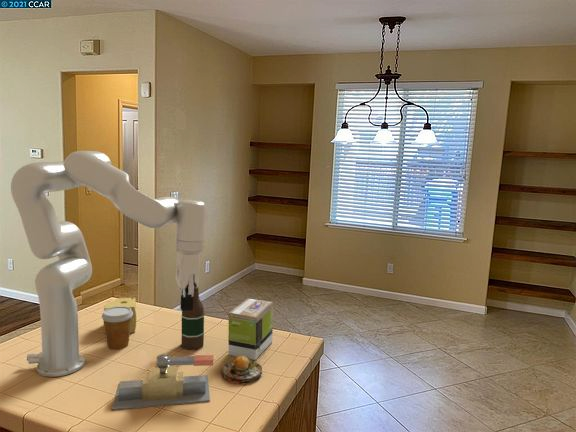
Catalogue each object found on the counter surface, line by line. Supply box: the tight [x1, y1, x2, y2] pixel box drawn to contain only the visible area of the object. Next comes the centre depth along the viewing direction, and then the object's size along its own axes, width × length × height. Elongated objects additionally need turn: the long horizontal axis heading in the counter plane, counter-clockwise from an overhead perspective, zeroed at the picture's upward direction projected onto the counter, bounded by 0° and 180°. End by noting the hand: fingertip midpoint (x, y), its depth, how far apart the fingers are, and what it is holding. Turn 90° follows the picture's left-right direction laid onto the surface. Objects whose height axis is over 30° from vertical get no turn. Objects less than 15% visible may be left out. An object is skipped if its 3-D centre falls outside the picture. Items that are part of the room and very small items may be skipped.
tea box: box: [227, 297, 274, 361], centre depth 143 cm, size 15×10×15 cm, turn 161°
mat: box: [111, 374, 211, 411], centre depth 116 cm, size 24×13×1 cm, turn 103°
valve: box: [117, 365, 206, 401], centre depth 114 cm, size 22×6×8 cm, turn 103°
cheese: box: [102, 297, 137, 336], centre depth 155 cm, size 10×11×10 cm
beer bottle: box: [181, 287, 205, 351], centre depth 143 cm, size 8×8×24 cm
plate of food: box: [221, 355, 263, 385], centre depth 127 cm, size 12×12×8 cm
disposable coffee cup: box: [101, 306, 133, 351], centre depth 141 cm, size 10×10×12 cm
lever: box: [156, 353, 215, 369], centre depth 114 cm, size 15×3×2 cm, turn 97°
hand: (186, 309), depth 121 cm, fingers closed
